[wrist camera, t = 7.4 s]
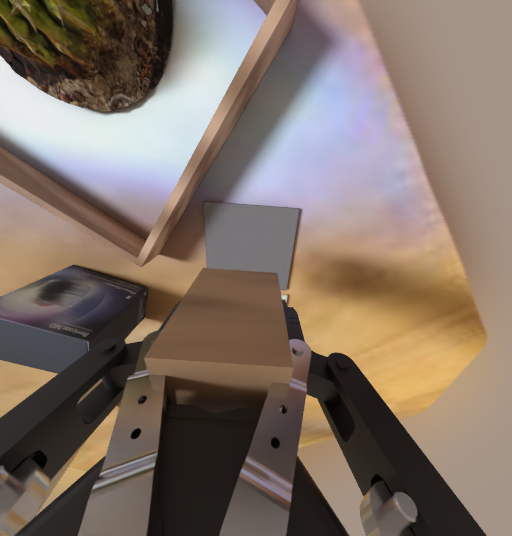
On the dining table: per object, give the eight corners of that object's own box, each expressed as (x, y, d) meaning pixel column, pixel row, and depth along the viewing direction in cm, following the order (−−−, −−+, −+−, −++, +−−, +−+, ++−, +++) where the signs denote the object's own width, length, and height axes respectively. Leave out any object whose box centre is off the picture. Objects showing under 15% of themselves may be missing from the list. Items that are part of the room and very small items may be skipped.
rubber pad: (286, 288, 27) (286, 290, 26) (208, 283, 26) (207, 284, 26) (298, 208, 22) (299, 208, 21) (204, 201, 22) (203, 201, 21)
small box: (149, 285, 27) (89, 342, 17) (145, 318, 30) (90, 383, 20) (71, 261, 26) (-40, 309, 16) (74, 298, 28) (-20, 358, 19)
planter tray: (158, 254, 25) (141, 267, 21) (-83, 101, 18) (-167, 82, 15) (292, 26, 16) (301, -20, 12) (-95, -430, 9) (-319, -814, 6)
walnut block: (270, 329, 15) (276, 442, 8) (206, 325, 15) (165, 435, 8) (277, 272, 13) (293, 367, 6) (203, 267, 13) (143, 357, 6)
